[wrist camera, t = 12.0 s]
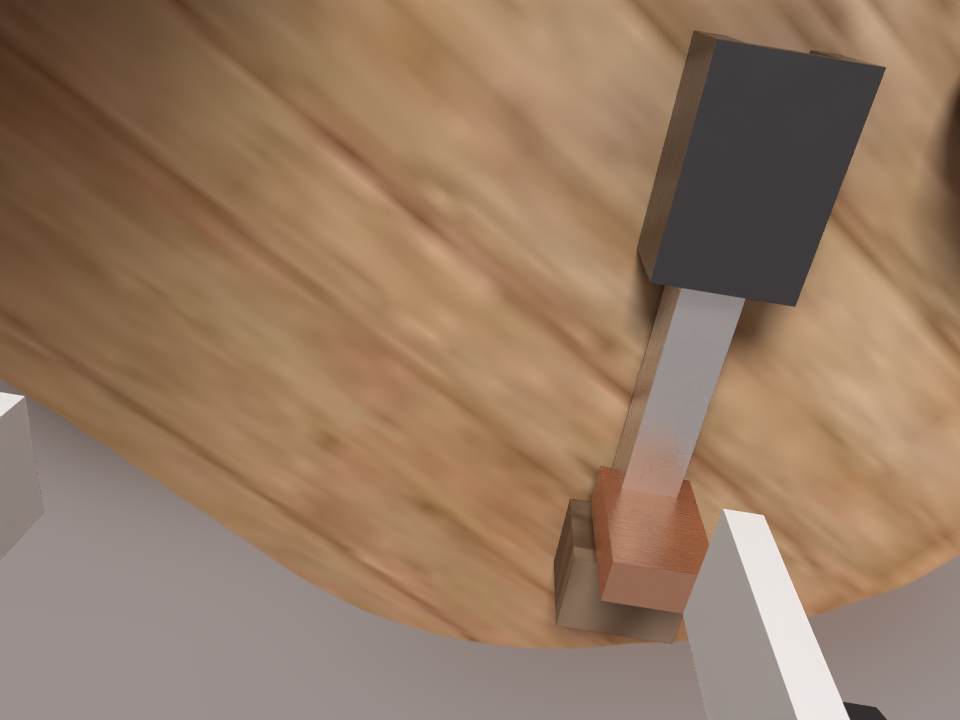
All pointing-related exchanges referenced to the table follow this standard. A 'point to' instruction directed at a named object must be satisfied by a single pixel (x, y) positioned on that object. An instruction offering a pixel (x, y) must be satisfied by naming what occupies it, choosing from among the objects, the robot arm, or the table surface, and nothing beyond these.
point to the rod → (662, 457)
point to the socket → (598, 588)
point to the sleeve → (752, 166)
